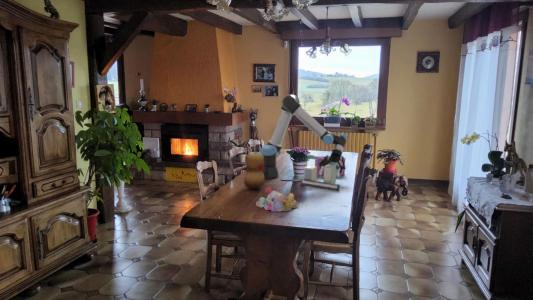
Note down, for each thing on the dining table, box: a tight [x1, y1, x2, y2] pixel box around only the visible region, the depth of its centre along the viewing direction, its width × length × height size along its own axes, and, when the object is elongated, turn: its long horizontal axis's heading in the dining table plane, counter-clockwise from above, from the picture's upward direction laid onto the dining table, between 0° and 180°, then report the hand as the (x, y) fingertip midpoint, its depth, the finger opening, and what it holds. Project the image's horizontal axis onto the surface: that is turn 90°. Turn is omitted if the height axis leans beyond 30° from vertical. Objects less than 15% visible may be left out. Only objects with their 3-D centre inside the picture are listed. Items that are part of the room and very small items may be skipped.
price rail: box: [300, 178, 341, 192], centre depth 257 cm, size 28×2×4 cm, turn 58°
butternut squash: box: [243, 151, 265, 190], centre depth 250 cm, size 14×13×25 cm
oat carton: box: [303, 165, 318, 181], centre depth 267 cm, size 8×6×12 cm
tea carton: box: [323, 164, 337, 184], centre depth 273 cm, size 8×6×12 cm
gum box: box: [314, 155, 346, 176], centre depth 298 cm, size 24×8×14 cm, turn 96°
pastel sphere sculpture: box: [255, 186, 299, 213], centre depth 217 cm, size 25×24×9 cm
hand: (328, 175), depth 271 cm, fingers open, 13 cm apart
